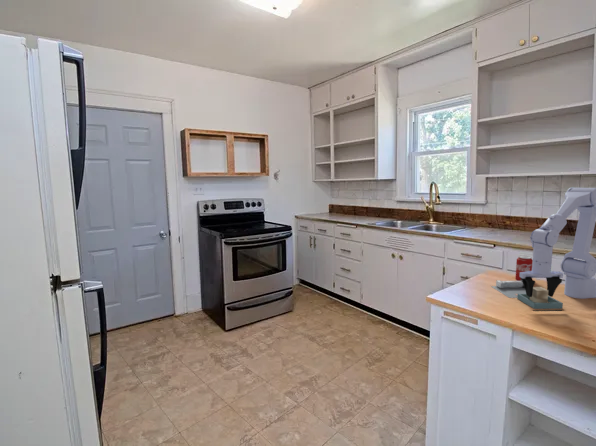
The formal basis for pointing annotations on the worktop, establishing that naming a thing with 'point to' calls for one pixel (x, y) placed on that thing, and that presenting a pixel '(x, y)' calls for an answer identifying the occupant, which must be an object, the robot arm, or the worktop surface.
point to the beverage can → (523, 265)
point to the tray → (551, 305)
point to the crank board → (510, 291)
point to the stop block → (539, 295)
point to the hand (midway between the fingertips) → (539, 296)
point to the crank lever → (509, 284)
